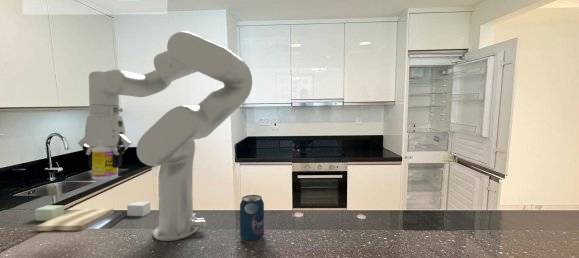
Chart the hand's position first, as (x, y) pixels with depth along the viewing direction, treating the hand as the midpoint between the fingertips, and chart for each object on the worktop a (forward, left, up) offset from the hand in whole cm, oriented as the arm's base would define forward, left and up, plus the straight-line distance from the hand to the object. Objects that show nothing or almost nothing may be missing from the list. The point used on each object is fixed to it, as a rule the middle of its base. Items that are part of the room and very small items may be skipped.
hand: (105, 166), depth 77 cm
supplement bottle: (0, 0, -4) cm, 4 cm away
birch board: (+13, -5, -20) cm, 24 cm away
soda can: (-48, +9, -20) cm, 53 cm away
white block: (-4, -11, -20) cm, 23 cm away
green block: (+25, -8, -20) cm, 33 cm away
